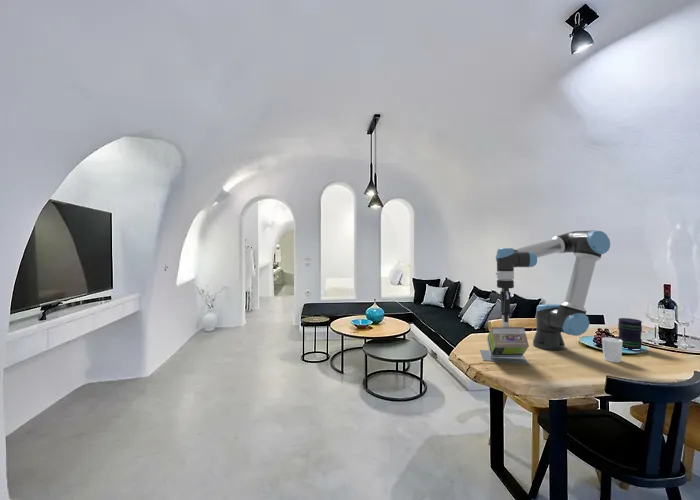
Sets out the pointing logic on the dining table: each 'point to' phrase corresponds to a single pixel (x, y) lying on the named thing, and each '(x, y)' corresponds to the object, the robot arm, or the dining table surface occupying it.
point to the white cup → (612, 349)
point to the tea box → (507, 342)
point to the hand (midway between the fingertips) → (505, 328)
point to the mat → (502, 358)
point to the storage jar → (630, 333)
